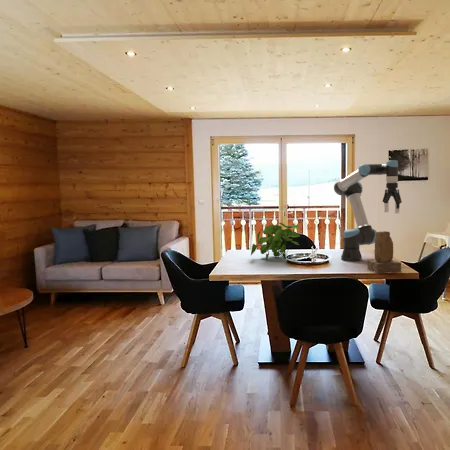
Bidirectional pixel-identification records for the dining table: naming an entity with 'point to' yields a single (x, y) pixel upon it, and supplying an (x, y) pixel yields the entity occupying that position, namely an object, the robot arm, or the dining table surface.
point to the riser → (384, 266)
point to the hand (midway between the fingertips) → (391, 212)
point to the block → (383, 247)
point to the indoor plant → (275, 239)
